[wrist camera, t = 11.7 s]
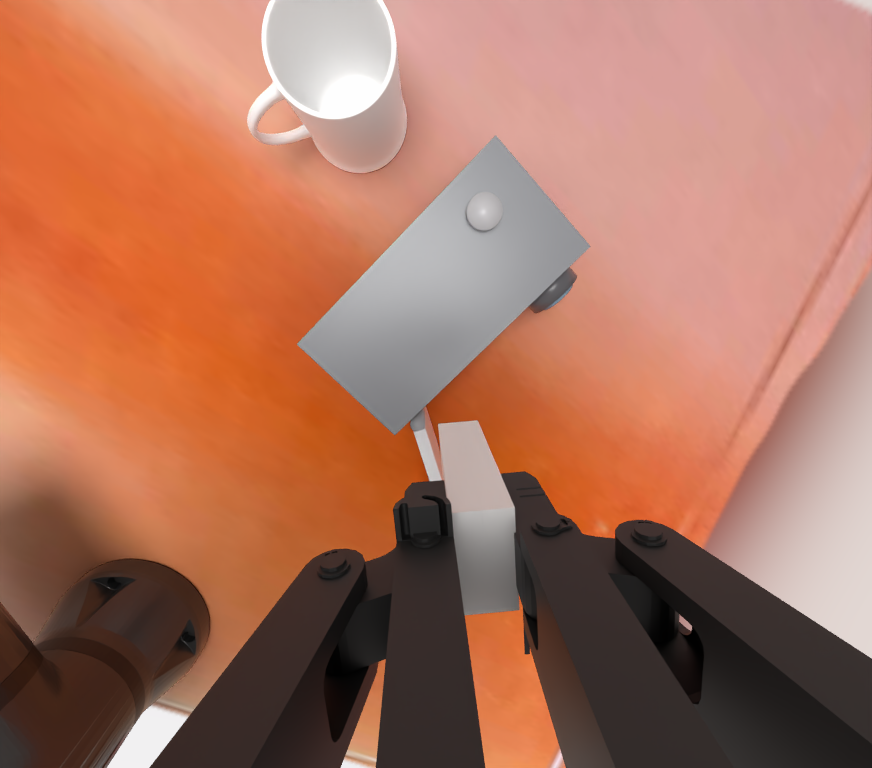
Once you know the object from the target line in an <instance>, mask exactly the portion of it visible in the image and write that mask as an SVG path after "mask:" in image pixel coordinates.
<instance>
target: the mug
mask: <svg viewBox="0 0 872 768" xmlns="http://www.w3.org/2000/svg"><path fill="white" fill-rule="evenodd" d="M262 49H263V55H264V59H265V63H266V66H267V69H268V71H269V74H270V76H271V78H272V80H273V83H272V84H271V85H270V86H269V87H268V88H267V89H266V90H265V91H264V92H263V93H262V94H261V95H260V96H259V97H258V98H257V99H256V100H255V102H254V103H253V105H252V106H251V108H250V110H249V113H248V118H247V123H248V128H249V130H250V132H251V134H252V135H253V137H254V138H255V139H256V140H258V141H259V142H261V143H264V144H267V145H285V144H290V143H294V142H297V141H300V140H303V139H306V138H309V137H312V139H313V141H314V143H315V145H316V147H317V149H318V150H319V151H320V153H321V154H322V155H323V156H324V157H325V158H326V159H327V160H328V161H329V162H330V163H331V164H333V165H334V166H336V167H338V168H340V169H342V170H345V171H348V172H352V173H368V172H372V171H375V170H378V169H380V168H382V167H384V166H385V165H386V164H388V163H389V162H390V161H391V160H392V159H393V158H394V157H395V156H396V154H397V153H398V151H399V150H400V148H401V146H402V144H403V141H404V138H405V135H406V129H407V113H406V107H405V104H404V100H403V98H402V92H401V82H400V72H399V62H398V53H397V43H396V35H395V30H394V26H393V22H392V19H391V16H390V14H389V12H388V9H387V7H386V6H385V4H384V2H383V0H270V2H269V4H268V7H267V9H266V12H265V16H264V20H263V25H262ZM283 99H286V101H287V102H288V104H289V105H290V106H291V108H292V109H293V110H294V112H295V113H296V115H297V116H298V117H299V119H300V120H301V122H302V123H303V125H302V126H300V127H298V128H296V129H294V130H291V131H288V132H284V133H278V134H266V133H262V132H259V131H258V130H257V126H258V123H259V121H260V119H261V118H262V116H263V115H264V114H265V112H266V111H267V110H268V109H269V108H271V107H272V106H273V105H274V104H276V103H277V102H279V101H281V100H283Z"/></svg>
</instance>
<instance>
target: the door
mask: <svg viewBox="0 0 872 768" xmlns="http://www.w3.org/2000/svg"><path fill="white" fill-rule="evenodd" d="M410 426H411V429H412V430H413V431H414V435H415V438H416V441H417V444H418V447H419V450H420V453H421V456H422V459H423V462H424V466H425V469H426V472H427V475H428V478H429V481H439V480H443V477H442V465H441V453H440V449H439V446H438V443H437V439H436V436H435V433H434V430H433V427H432V423H431V420H430V417H429V414H428V411H427V407H426V406H425V407H424V408H423V409H422V410H421V411H420V412H418V413H417V414H416V415H415V416H414V417H413V418H412V419H411V423H410Z"/></svg>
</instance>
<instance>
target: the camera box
mask: <svg viewBox="0 0 872 768" xmlns="http://www.w3.org/2000/svg"><path fill="white" fill-rule="evenodd" d="M589 247H590V245H589V244H588V243H587V242H586V241H585V239H584V238H583V237H582V236H581V235H580V234H579V232H578V231H577V230H576V229H575V228H574V226H573V225H572V224H571V223H570V222H569V221H568V219H567V218H566V217H565V216H564V215H563V214H562V212H561V211H560V210H559V209H558V208H557V207H556V205H555V204H554V203H553V202H552V201H551V200H550V198H549V197H548V196H547V195H546V194H545V193H544V191H543V190H542V189H541V188H540V187H539V185H538V184H537V183H536V182H535V181H534V180H533V178H532V177H531V176H530V175H529V174H528V173H527V171H526V170H525V169H524V168H523V167H522V166H521V164H520V163H519V162H518V161H517V160H516V159H515V157H514V156H513V155H512V154H511V153H510V151H509V150H508V149H507V148H506V147H505V146H504V144H503V143H502V142H501V141H500V140H499V139H498V137H497V136H495V137H494V138H493V139H492V140H491V141H490V142H489V143H488V144H487V145H486V146H485V147H484V148H483V149H482V150H481V151H480V152H479V153H478V154H477V156H476V157H475V158H474V159H473V160H472V161H471V162H470V163H469V164H468V165H467V166H466V167H465V168H464V169H463V170H462V171H461V172H460V173H459V174H458V175H457V177H456V178H455V179H454V180H453V181H452V182H451V183H450V184H449V185H448V186H447V187H446V188H445V189H444V190H443V191H442V192H441V193H440V194H439V195H438V196H437V198H436V199H435V200H434V201H433V202H432V203H431V204H430V205H429V206H428V207H427V208H426V209H425V210H424V211H423V212H422V213H421V214H420V215H419V216H418V217H417V219H416V220H415V221H414V222H413V223H412V224H411V225H410V226H409V227H408V228H407V229H406V230H405V231H404V232H403V233H402V234H401V235H400V236H399V237H398V238H397V240H396V241H395V242H394V243H393V244H392V245H391V246H390V247H389V248H388V249H387V250H386V251H385V252H384V253H383V254H382V255H381V256H380V257H379V258H378V260H377V261H376V262H375V263H374V264H373V265H372V266H371V267H370V268H369V269H368V270H367V271H366V272H365V273H364V274H363V275H362V276H361V277H360V278H359V279H358V281H357V282H356V283H355V284H354V285H353V286H352V287H351V288H350V289H349V290H348V291H347V292H346V293H345V294H344V295H343V296H342V297H341V298H340V299H339V300H338V302H337V303H336V304H335V305H334V306H333V307H332V308H331V309H330V310H329V311H328V312H327V313H326V314H325V315H324V316H323V317H322V318H321V319H320V320H319V321H318V323H317V324H316V325H315V326H314V327H313V328H312V329H311V330H310V331H309V332H308V333H307V334H306V335H305V336H304V337H303V338H302V339H301V340H300V341H299V342H298V344H297V345H298V346H299V347H300V348H301V349H302V350H303V351H305V352H306V353H307V354H308V355H309V356H310V357H311V358H312V359H313V360H314V361H315V362H316V363H317V364H319V365H320V366H321V367H322V368H323V369H324V370H325V371H326V372H327V373H328V374H329V375H330V376H331V377H333V378H334V379H335V380H336V381H337V382H338V383H339V384H340V385H341V386H342V387H343V388H344V389H345V390H347V391H348V392H349V393H350V394H351V395H352V396H353V397H354V398H355V399H356V400H357V401H358V402H359V403H360V404H362V405H363V406H364V407H365V408H366V409H367V410H368V411H369V412H370V413H371V414H372V415H373V416H374V417H376V418H377V419H378V420H379V421H380V422H381V423H382V424H383V425H384V426H385V427H386V428H387V429H388V430H390V431H391V432H392V433H393V434H394V435H396V434H397V433H398V432H399V431H400V430H401V429H402V428H403V427H404V426H405V425H406V424H407V423H408V422H409V421H410V420H411V419H412V418H413V417H414V416H415V415H416V414H417V413H418V412H420V411H421V410H422V409H423V408H424V407H425V406H426V405H427V404H428V403H429V402H430V401H431V400H432V399H433V398H434V397H435V396H436V395H437V394H438V393H439V392H440V391H441V390H442V389H443V388H444V387H445V386H446V385H447V384H449V383H450V382H451V381H452V380H453V379H454V378H455V377H456V376H457V375H458V374H459V373H460V372H461V371H462V370H463V369H464V368H465V367H466V366H467V365H468V364H469V363H470V362H471V361H472V360H473V359H474V358H475V357H476V356H478V355H479V354H480V353H481V352H482V351H483V350H484V349H485V348H486V347H487V346H488V345H489V344H490V343H491V342H492V341H493V340H494V339H495V338H496V337H497V336H498V335H499V334H500V333H501V332H502V331H503V330H504V329H505V328H507V327H508V326H509V325H510V324H511V323H512V322H513V321H514V320H515V319H516V318H517V317H518V316H519V315H520V314H521V313H522V312H523V311H524V310H525V309H526V308H527V307H529V308H530V309H531V310H532V311H533V312H534V313H538V312H541V311H542V310H547V309H549V308H551V307H552V306H554V305H555V304H556V303H558V302H559V301H560V300H561V299H562V298H563V297H564V296H565V295H566V294H567V293H568V292H569V291H570V289H571V288H572V284H573V283H574V282H575V280H576V278H577V275H576V274H575V273H574V272H573V270H572V269H571V268H570V266H571V265H572V264H573V263H574V262H575V261H576V260H577V259H578V258H579V257H580V256H581V255H582V254H583V253H584V252H585V251H586V250H587V249H588V248H589Z"/></svg>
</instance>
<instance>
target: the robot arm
mask: <svg viewBox="0 0 872 768" xmlns="http://www.w3.org/2000/svg"><path fill="white" fill-rule="evenodd" d="M438 429H439V441H440V453H441V465H442V477H443V480H439V481H428V482H416V483H412V484H411V485H410V486H409V487H408V488H407V489H406V491H405V497H404V498H402V499H401V500H400V501H398V502H397V503H396V504H395V506H394V508H393V513H394V522H395V531H396V539H397V544H396V548H394V549H393V550H392V551H391V552H389V553H387V554H386V555H384V556H382V557H379V558H376V559H373V560H370V561H367V562H365V560H364V558H363V555H362V554H360V553H359V552H357V551H355V550H350V549H335V550H331V551H327V552H324V553H322V554H320V555H319V556H317V557H315V558H313V559H312V560H311V561H310V562H309V563H308V564H307V565H306V566H305V567H304V568H303V570H302V571H301V572H300V573H299V575H298V576H297V577H296V579H295V580H294V581H293V583H292V584H291V585H290V586H289V588H288V589H287V590H286V592H285V593H284V594H283V596H282V597H281V598H280V599H279V601H278V602H277V603H276V605H275V606H274V607H273V608H272V610H271V611H270V612H269V614H268V615H267V616H266V618H265V619H264V620H263V621H262V623H261V624H260V625H259V627H258V628H257V629H256V630H255V632H254V633H253V634H252V636H251V637H250V638H249V640H248V641H247V642H246V643H245V645H244V646H243V647H242V649H241V650H240V651H239V653H238V654H237V655H236V656H235V658H234V659H233V660H232V662H231V663H230V664H229V665H228V667H227V668H226V669H225V671H224V672H223V673H222V675H221V676H220V677H219V678H218V680H217V681H216V682H215V684H214V685H213V686H212V687H211V689H210V690H209V691H208V693H207V694H206V695H205V697H204V698H203V699H202V700H201V702H200V703H199V704H198V706H197V707H196V708H195V709H194V711H193V712H192V713H191V715H190V716H189V717H188V719H187V720H186V721H185V723H184V724H183V725H182V726H181V728H180V729H179V730H178V732H177V733H176V734H175V736H174V737H173V738H172V740H171V741H170V742H169V743H168V744H167V746H166V747H165V748H164V750H163V751H162V752H161V754H160V755H159V756H158V758H157V759H156V760H155V761H154V763H153V764H152V765H151V766H150V768H340V767H341V765H342V762H343V760H344V757H345V754H346V752H347V749H348V746H349V744H350V741H351V739H352V736H353V733H354V731H355V728H356V726H357V723H358V720H359V718H360V715H361V712H362V710H363V707H364V705H365V702H366V699H367V697H368V694H369V691H370V689H371V686H372V684H373V681H374V678H375V676H376V673H377V668H378V662H379V661H381V660H384V659H386V664H385V675H384V686H383V697H382V708H381V718H380V729H379V740H378V751H377V762H376V768H485V763H484V755H483V748H482V741H481V733H480V726H479V719H478V711H477V704H476V696H475V689H474V682H473V674H472V667H471V660H470V652H469V645H468V638H467V630H466V623H465V615H472V614H483V613H493V612H504V611H514V610H519V596H520V599H521V602H522V605H523V620H524V644H525V654H530V649H531V652H532V656H533V659H534V662H535V666H536V669H537V672H538V676H539V679H540V682H541V686H542V689H543V692H544V696H545V699H546V702H547V706H548V709H549V712H550V716H551V719H552V722H553V726H554V729H555V732H556V736H557V739H558V743H559V746H560V749H561V753H562V756H563V759H564V763H565V766H566V768H872V659H871V658H870V657H868V656H867V655H865V654H864V653H862V652H861V651H859V650H857V649H856V648H854V647H853V646H851V645H850V644H848V643H847V642H845V641H844V640H842V639H840V638H839V637H837V636H836V635H834V634H833V633H831V632H829V631H828V630H827V629H825V628H823V627H822V626H820V625H819V624H817V623H816V622H814V621H813V620H811V619H810V618H808V617H807V616H805V615H804V614H802V613H801V612H799V611H797V610H796V609H794V608H793V607H791V606H790V605H788V604H787V603H785V602H784V601H782V600H781V599H779V598H777V597H776V596H774V595H773V594H771V593H770V592H768V591H767V590H765V589H764V588H762V587H760V586H759V585H758V584H756V583H754V582H753V581H751V580H749V579H748V578H747V577H745V576H744V575H742V574H741V573H739V572H737V571H736V570H734V569H733V568H731V567H730V566H728V565H727V564H725V563H724V562H722V561H720V560H719V559H718V558H716V557H714V556H713V555H711V554H710V553H708V552H707V551H705V550H704V549H702V548H701V547H699V546H698V545H696V544H694V543H693V542H691V541H690V540H688V539H687V538H685V537H684V536H682V535H681V534H679V533H678V532H676V531H674V530H673V529H671V528H669V527H667V526H665V525H663V524H659V523H655V522H652V521H648V520H645V521H644V520H634V521H626V522H624V523H622V524H620V525H619V526H618V527H617V528H616V530H615V539H613V538H603V537H595V536H589V535H585V534H582V533H581V531H580V530H579V528H578V527H577V525H576V524H575V523H574V522H573V521H572V520H571V519H569V518H567V517H565V516H563V515H559V514H557V512H556V510H555V509H554V507H553V505H552V504H551V502H550V500H549V499H548V497H547V495H545V492H544V490H543V489H542V488H541V486H540V484H539V482H538V481H537V479H536V478H535V477H533V476H532V475H530V474H528V473H527V472H514V473H503V474H500V472H499V469H498V467H497V465H496V462H495V460H494V458H493V455H492V453H491V451H490V448H489V446H488V444H487V441H486V439H485V436H484V434H483V432H482V429H481V427H480V425H479V422H478V420H476V421H465V422H453V423H442V424H438ZM518 593H519V594H518ZM679 614H680V615H681V616H682V617H683V618H684V619H686V620H687V621H688V622H689V623H690V624H691V625H692V631H690V630H688V629H687V628H686V627H684V626H683V625H682V624H681V623H680V622H679ZM209 627H210V623H209V615H208V611H207V608H206V605H205V603H204V601H203V599H202V597H201V596H200V594H199V593H198V591H197V590H196V589H195V588H194V587H193V585H192V584H191V583H190V582H188V581H187V580H186V579H185V578H184V577H182V576H181V575H180V574H178V573H176V572H175V571H173V570H171V569H169V568H167V567H165V566H162V565H160V564H157V563H153V562H149V561H144V560H133V559H128V560H117V561H112V562H109V563H105V564H103V565H100V566H98V567H96V568H94V569H92V570H91V571H89V572H88V573H87V574H85V575H84V576H83V577H82V578H81V579H80V580H78V581H77V582H76V583H75V584H74V585H73V586H71V587H70V588H69V589H68V590H67V591H66V593H65V594H64V595H63V596H62V597H61V599H60V600H59V602H58V603H57V605H56V607H55V608H54V610H53V612H52V613H51V615H50V616H49V618H48V620H47V621H46V623H45V625H44V626H43V628H42V630H41V631H40V633H39V635H38V636H37V638H36V640H35V641H34V643H32V641H31V640H30V639H29V638H28V636H27V635H26V634H25V632H24V631H23V630H22V629H21V627H20V626H19V625H18V624H17V622H16V621H15V620H14V619H13V617H12V616H11V615H10V614H9V612H8V611H7V610H6V609H5V607H4V606H3V605H2V604H1V602H0V768H107V766H108V765H109V763H110V761H111V760H112V759H113V757H114V755H115V754H116V752H117V751H118V749H119V748H120V746H121V745H122V743H123V741H124V740H125V738H126V737H127V735H128V734H129V732H130V731H131V729H132V727H133V726H134V724H135V723H136V721H137V720H138V718H139V717H140V715H141V714H142V713H143V712H144V711H145V710H146V709H147V708H148V707H149V706H151V705H152V704H153V703H154V702H155V701H156V700H157V699H158V698H160V697H161V696H162V695H163V694H164V693H165V692H166V691H168V690H169V689H170V688H171V687H172V686H173V685H174V684H175V683H177V682H178V681H179V680H180V679H181V678H182V677H183V676H184V675H185V674H186V673H187V672H188V671H189V670H190V668H191V667H192V666H193V664H194V663H195V661H196V660H197V658H198V656H199V655H200V653H201V651H202V650H203V648H204V646H205V644H206V642H207V639H208V635H209Z"/></svg>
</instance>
